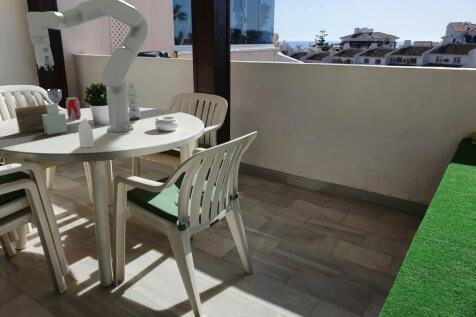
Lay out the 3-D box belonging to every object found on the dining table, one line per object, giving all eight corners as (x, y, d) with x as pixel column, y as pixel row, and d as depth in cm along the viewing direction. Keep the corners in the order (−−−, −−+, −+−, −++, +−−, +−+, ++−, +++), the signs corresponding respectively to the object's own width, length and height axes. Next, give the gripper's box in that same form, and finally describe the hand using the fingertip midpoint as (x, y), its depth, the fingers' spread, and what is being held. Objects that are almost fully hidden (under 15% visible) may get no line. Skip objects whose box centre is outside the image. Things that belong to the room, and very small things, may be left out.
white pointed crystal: (73, 119, 147) (83, 116, 152) (77, 146, 151) (87, 143, 156) (84, 120, 145) (94, 118, 150) (87, 148, 149) (97, 145, 154)
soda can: (76, 120, 204) (73, 99, 200) (65, 119, 205) (62, 98, 202) (83, 117, 211) (81, 97, 207) (73, 117, 212) (70, 97, 208)
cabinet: (67, 131, 178) (63, 103, 173) (48, 134, 172) (43, 105, 167) (63, 129, 181) (59, 102, 177) (45, 132, 175) (40, 104, 171)
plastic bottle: (136, 116, 213) (133, 83, 206) (143, 118, 209) (140, 83, 202) (126, 118, 208) (123, 84, 202) (133, 120, 204) (130, 84, 198)
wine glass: (51, 113, 223) (47, 89, 218) (65, 112, 225) (62, 88, 221) (49, 115, 216) (45, 90, 211) (63, 115, 218) (60, 90, 213)
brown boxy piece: (56, 128, 184) (53, 105, 180) (22, 133, 173) (17, 109, 169) (49, 125, 191) (45, 103, 187) (15, 130, 180) (11, 106, 176)
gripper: (55, 40, 160) (62, 79, 165) (43, 41, 172) (49, 77, 177) (37, 40, 155) (44, 80, 160) (25, 41, 167) (32, 78, 172)
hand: (47, 78), depth 169 cm, fingers open, 9 cm apart
